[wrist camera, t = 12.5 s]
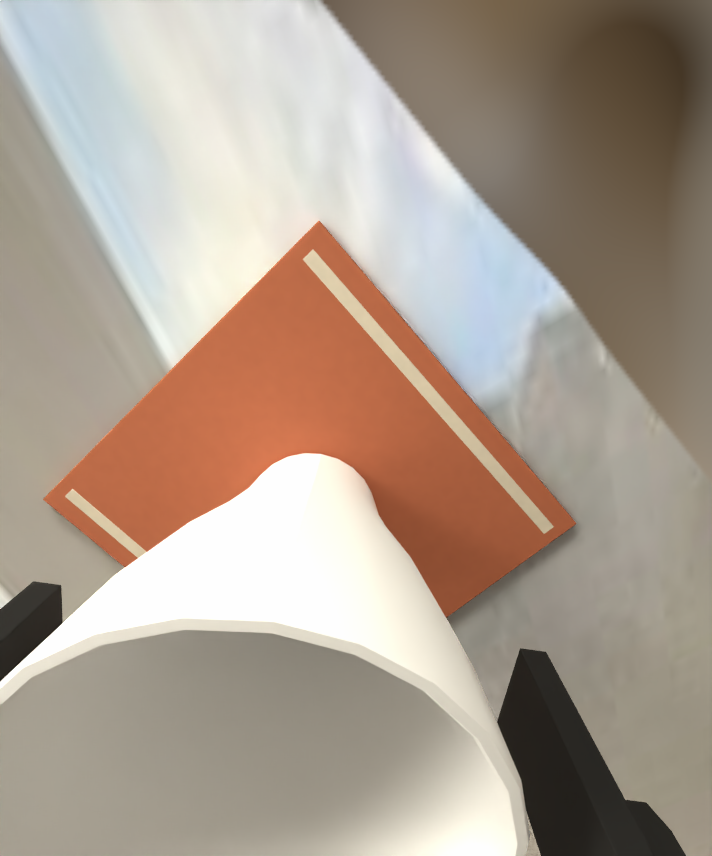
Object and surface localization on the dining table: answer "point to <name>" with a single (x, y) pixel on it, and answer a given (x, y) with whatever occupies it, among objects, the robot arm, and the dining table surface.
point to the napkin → (318, 431)
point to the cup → (259, 698)
